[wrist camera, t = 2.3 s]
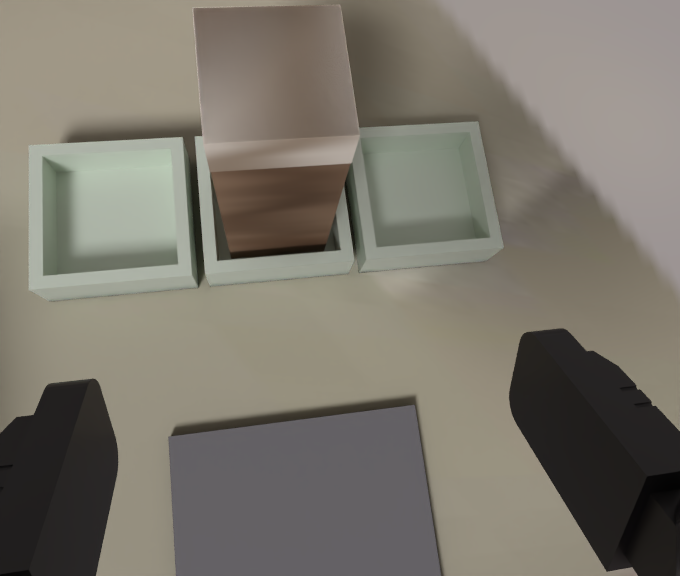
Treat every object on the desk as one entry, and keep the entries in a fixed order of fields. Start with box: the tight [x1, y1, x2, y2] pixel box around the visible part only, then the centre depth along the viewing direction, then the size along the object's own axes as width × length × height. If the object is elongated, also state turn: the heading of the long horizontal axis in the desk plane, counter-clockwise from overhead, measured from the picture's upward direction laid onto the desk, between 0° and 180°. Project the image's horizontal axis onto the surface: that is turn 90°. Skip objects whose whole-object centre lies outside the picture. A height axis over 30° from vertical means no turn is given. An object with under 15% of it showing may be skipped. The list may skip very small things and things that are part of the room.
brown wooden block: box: [193, 5, 360, 259], centre depth 20 cm, size 4×4×10 cm
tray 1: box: [29, 137, 198, 301], centre depth 23 cm, size 6×6×2 cm
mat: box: [169, 405, 441, 576], centre depth 22 cm, size 10×8×1 cm
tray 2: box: [195, 136, 354, 287], centre depth 24 cm, size 6×6×2 cm
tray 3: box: [346, 121, 504, 273], centre depth 25 cm, size 6×6×2 cm
